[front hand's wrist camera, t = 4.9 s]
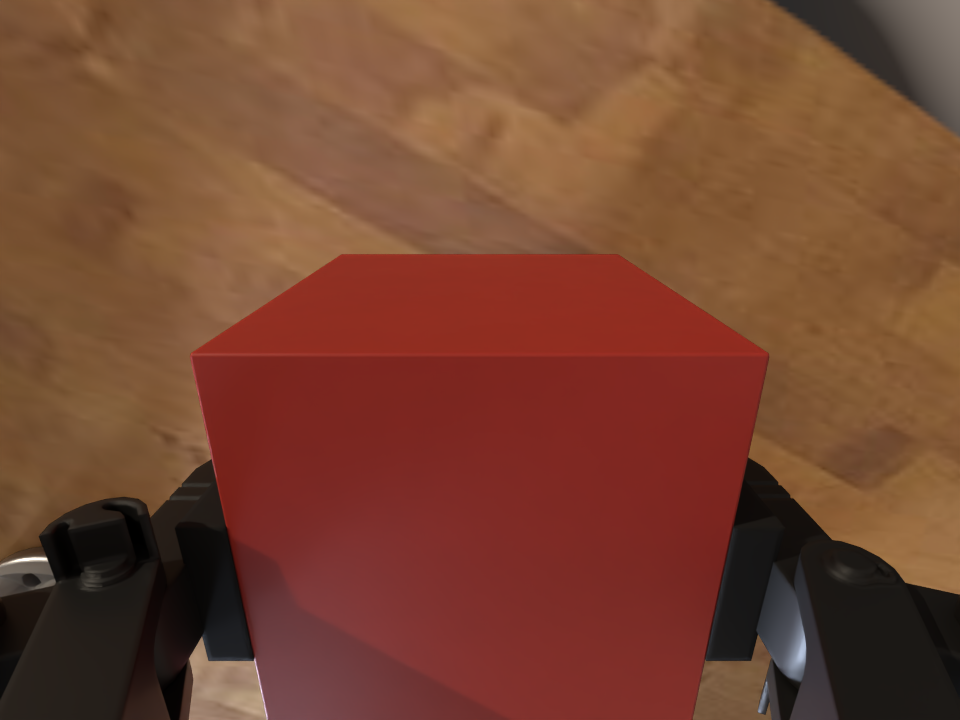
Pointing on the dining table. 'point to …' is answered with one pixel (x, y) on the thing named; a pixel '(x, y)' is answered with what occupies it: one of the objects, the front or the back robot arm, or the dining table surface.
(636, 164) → the dining table surface
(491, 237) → the dining table surface
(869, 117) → the dining table surface
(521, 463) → the cube
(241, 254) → the dining table surface
